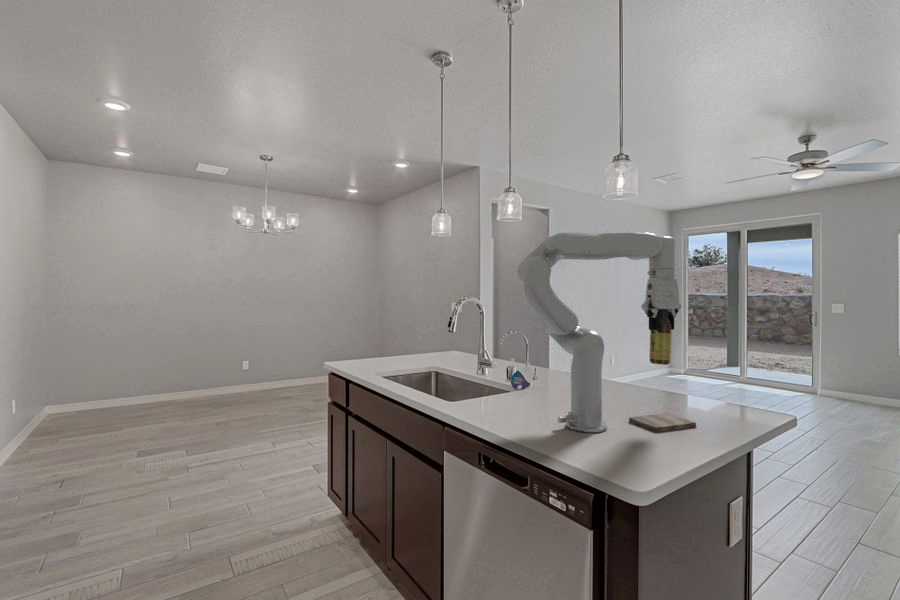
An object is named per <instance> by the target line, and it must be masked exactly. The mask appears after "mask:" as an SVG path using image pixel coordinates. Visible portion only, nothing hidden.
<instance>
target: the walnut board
mask: <svg viewBox="0 0 900 600" xmlns="http://www.w3.org/2000/svg"><path fill="white" fill-rule="evenodd" d="M628 421H629V423H631V424H633V423H634V424H633V425H636V426H638V425H639V426H638V427H641V428H643V429H647V430H649V431H652V432H654V433H661V432H670V431H678V430H685V429H691V428H692V429H693V428H697V422H696V421H694V420H689V419H686V418H683V417H681V416H677V415H674V414H671V413H667V412H665V413H657V414H655V413H654V414H648V415H641V416H640V415H638V416H630V417H628Z"/></svg>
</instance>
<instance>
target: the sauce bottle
mask: <svg viewBox="0 0 900 600" xmlns="http://www.w3.org/2000/svg"><path fill="white" fill-rule="evenodd" d="M656 318H658V329H657V330H650V335H649V363H651V364H654V365H655V364H656V365H661V366H662V365H663V366H666V365H669V364H670V363H671V353H672V352H671V351H672V350H671V349H672V330H671V323H670V321H669V319H668V309H658V312H657V315H656Z"/></svg>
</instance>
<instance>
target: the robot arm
mask: <svg viewBox="0 0 900 600" xmlns="http://www.w3.org/2000/svg"><path fill="white" fill-rule="evenodd" d="M675 247H676V246H675V239H674V237H672V236H668V235H667V236H665V235H664V236H657V235H656V234H655V233H651V232H650V233H649V232H616V233H615V232H612V233H611V232H603V233H599V232H593V233H592V232H589V233H587V232H558V233H556V234H553V235H551V236H549V237H547V238H545V240H544V241H543V242H542V243H540V245H538V246H537V247H536V248H535V249H533V251H531V252H530V254H528V255H527V256H525V258H524V259H523V260H522V261H520V263H519V264H518V267H517V275H518V278H519V279H520V280H521V281H522V282H523V291H524V296H525V298H526V301H527V302H528V304H529V305H530V307H532V309H533V310H534V311H535V312H536V313H537V315H539V316H540V317H539V318H540V320H539V321H540V324H541V326H542V329H543V330H545V332H546V333H547V334H548V335H549V336H550V337H551V338H552V339H553V340H554V341H555V342H556V343H557V344H558V345H559V347H561V348H562V350H564V351H565V352H566V353H568V354H570V355H572V361H571V366H570V411H569V412H567V415H565V416H563V415H562V416H558V417H557V421H558V423H559V424H563V423H565V426H566V425H567V426H568V427H570V428H573V429H575V430H574V431H576V430H579V431H578V432H581V431H584V432H583V433H601V432H604V431H607V429H608V425H607V423H606V422H604V421H603V405H602V403H603V394H602V393H603V390H602V389H603V385H602V384H603V383H602V381H603V379H602V377H603V375H602V373H603V372H602V370H603V369H602V368H603V359H604V353H605V342H604V338H602V336H601V335H600V334H599V333H598V332H597V331H595V330H592V329H589V328H582V327H580V326H579V318H578V316H577V314H576V312H575V311H574V310H573V309H572V308H571V307H570V306H568V305H567V303H566V302H565V301H563V299H562V298H561V297H560V296H559V295H558V294H557V292H555V290H554V289H553V287H552V284H551V274H552V268H553V267H554V266H555V265H556V263H558V262H559V261H561V260H581V261H582V260H587V261H589V260H590V261H599V260H602V261H603V260H611V259H616V258H626V259H627V258H628V259H629V260H632V261H634V260H635V261H636V260H637V261H638V260H644V259H645V260H646V259H648V271H647V275H648V279H647V282H646V290H645V301H644V302H643V303H642V304H641V306H640V307H641V309H642V310H643V311H644V313H645V315H646V317H647V318H648V330H657V329H658V318H656V315H657V312H658V309H668V319H669V321H670V323H671V331H672V330H675V318H676V317H677V314H678V312H679V311H680V309H681V308H682V304H680V294H679V293H680V292H679V291H680V290H679V286H678V281H677V278H675V277H676V276H675V266H676V265H675V261H676V259H675V258H676V257H675V253H676V249H675ZM567 426H566V427H567ZM568 427H567V428H568ZM570 428H569V429H570Z"/></svg>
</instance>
